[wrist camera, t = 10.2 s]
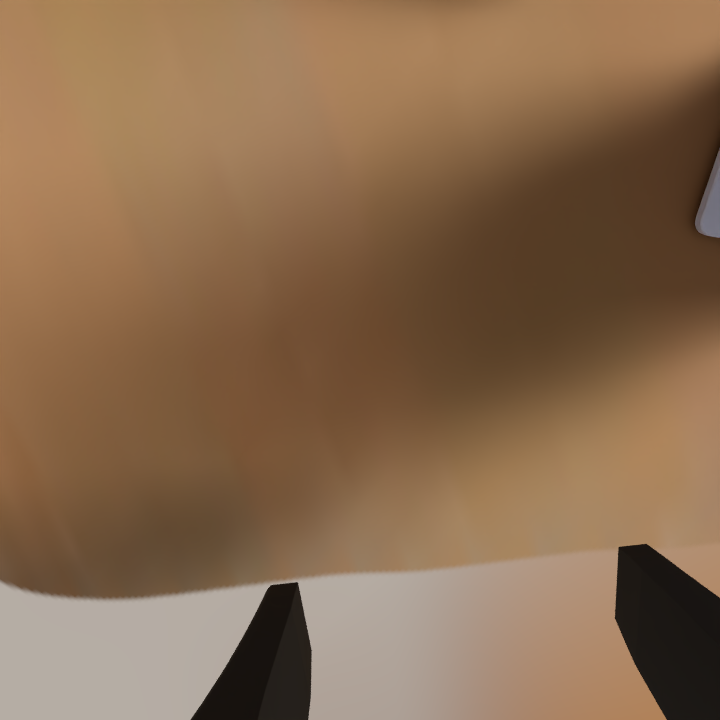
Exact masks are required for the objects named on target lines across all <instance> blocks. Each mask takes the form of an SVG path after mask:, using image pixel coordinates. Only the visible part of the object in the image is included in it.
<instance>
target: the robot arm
mask: <svg viewBox="0 0 720 720" xmlns="http://www.w3.org/2000/svg"><path fill="white" fill-rule="evenodd" d="M695 226H696V229H697V230H698V232H699V233H701V234H704V235H707V236H712V237H718V238H720V149H719V152H718V154H717V157H716V160H715V163H714V166H713V169H712V172H711V175H710V178H709V181H708V184H707V187H706V190H705V192H704V195H703V198H702V201H701V204H700V207H699V210H698V213H697V216H696V220H695ZM616 591H617V592H616V609H615V619H616V622H617V623H618V626H619V628H620V631H621V633H622V636H623V638H624V640H625V643H626V645H627V647H628V649H629V652H630V654H631V656H632V658H633V660H634V663H635V665H636V667H637V668H638V670H639V672H640V674H641V676H642V677H643V679H644V681H645V683H646V684H647V686H648V688H649V690H650V691H651V693H652V695H653V696H654V698H655V700H656V702H657V703H658V705H659V707H660V709H661V710H662V712H663V714H664V715H665V717H666V719H667V720H720V598H719V597H718V596H716V595H715V594H714V593H712V592H711V591H709V590H708V589H707V588H705V587H704V586H703V585H701V584H700V583H699V582H697V581H696V580H695V579H693V578H692V577H690V576H689V575H688V574H686V573H685V572H684V571H682V570H681V569H679V568H678V567H677V566H676V565H674V564H673V563H672V562H670V561H669V560H668V559H666V558H665V557H664V556H662V555H661V554H659V553H658V552H657V551H655V550H654V549H653V548H651V547H650V546H649V545H647V544H641V545H632V546H623V547H619V551H618V570H617V589H616ZM311 651H312V650H311V646H310V640H309V635H308V630H307V625H306V621H305V616H304V611H303V606H302V601H301V596H300V591H299V586H298V583H297V582H296V583H287V584H278V585H271V586H270V587H269V588H268V589H267V591H266V593H265V595H264V598H263V600H262V602H261V604H260V606H259V608H258V610H257V612H256V614H255V616H254V617H253V619H252V621H251V623H250V625H249V627H248V629H247V631H246V632H245V634H244V636H243V638H242V640H241V641H240V643H239V645H238V647H237V648H236V650H235V652H234V653H233V655H232V657H231V658H230V660H229V662H228V664H227V665H226V667H225V669H224V670H223V672H222V674H221V675H220V677H219V678H218V680H217V681H216V683H215V684H214V686H213V687H212V689H211V690H210V692H209V693H208V695H207V696H206V698H205V700H204V701H203V703H202V704H201V706H200V707H199V708H198V710H197V711H196V713H195V714H194V716H193V717H192V719H191V720H308V716H309V707H310V698H311Z"/></svg>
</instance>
